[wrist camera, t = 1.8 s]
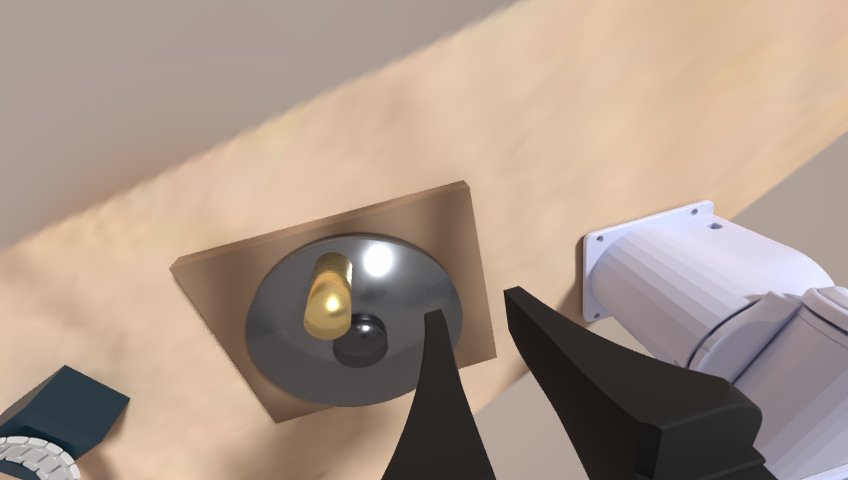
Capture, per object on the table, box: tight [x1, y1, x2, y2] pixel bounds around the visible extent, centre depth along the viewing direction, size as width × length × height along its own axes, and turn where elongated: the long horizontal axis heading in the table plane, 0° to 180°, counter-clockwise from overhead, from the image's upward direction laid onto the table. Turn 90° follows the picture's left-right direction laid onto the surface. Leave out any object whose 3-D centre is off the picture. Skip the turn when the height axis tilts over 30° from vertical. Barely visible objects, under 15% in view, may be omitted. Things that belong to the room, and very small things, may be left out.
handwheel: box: [246, 232, 463, 407], centre depth 20 cm, size 13×13×6 cm
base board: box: [169, 180, 497, 424], centre depth 23 cm, size 17×14×1 cm
